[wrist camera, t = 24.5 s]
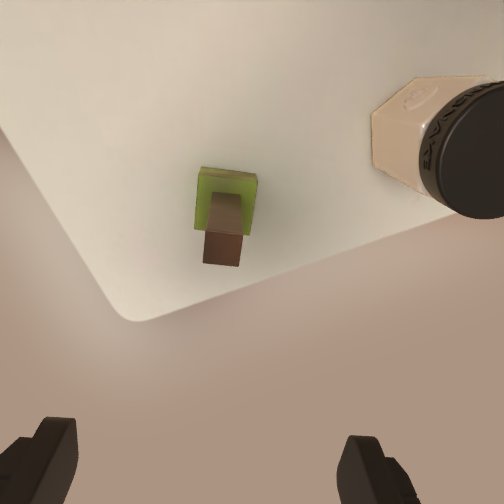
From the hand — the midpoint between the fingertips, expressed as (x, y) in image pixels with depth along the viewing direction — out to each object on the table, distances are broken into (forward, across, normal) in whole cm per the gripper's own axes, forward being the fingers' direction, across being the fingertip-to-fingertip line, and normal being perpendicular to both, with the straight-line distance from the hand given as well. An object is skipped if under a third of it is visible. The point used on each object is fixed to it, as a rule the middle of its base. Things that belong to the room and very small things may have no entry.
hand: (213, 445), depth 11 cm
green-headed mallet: (+26, 0, 0) cm, 26 cm away
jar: (+26, -16, -8) cm, 32 cm away
